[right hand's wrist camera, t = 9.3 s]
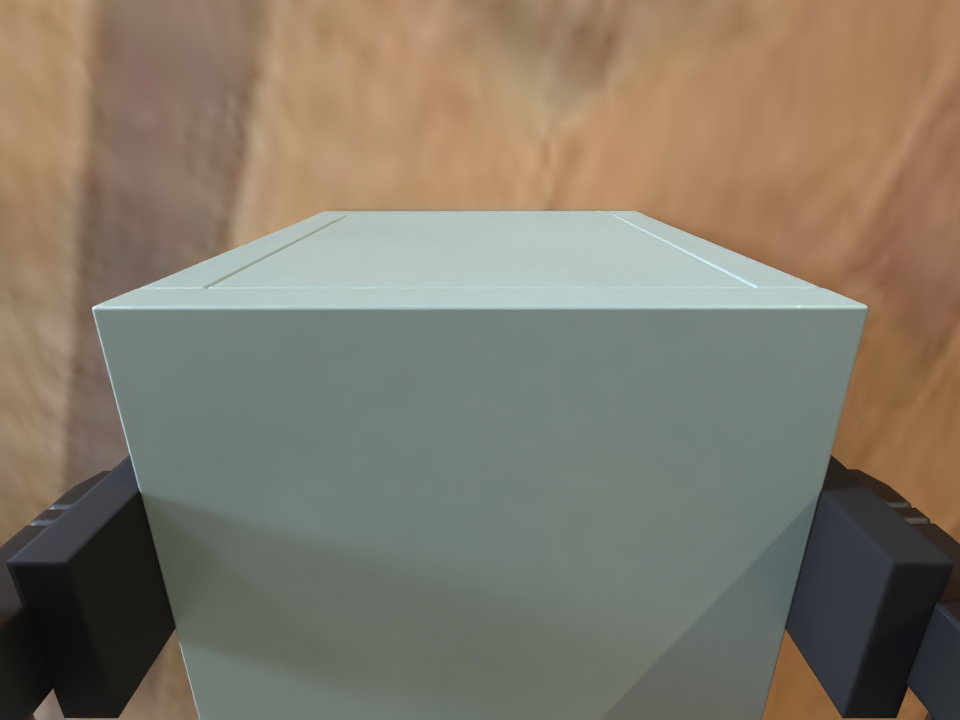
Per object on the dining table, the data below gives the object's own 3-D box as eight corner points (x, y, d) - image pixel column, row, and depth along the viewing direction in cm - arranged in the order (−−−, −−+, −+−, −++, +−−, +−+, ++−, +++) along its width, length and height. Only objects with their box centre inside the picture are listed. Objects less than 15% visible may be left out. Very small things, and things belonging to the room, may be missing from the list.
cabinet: (597, 610, 24) (692, 987, 13) (363, 610, 24) (268, 988, 13) (636, 210, 18) (872, 306, 7) (323, 211, 18) (89, 306, 7)
